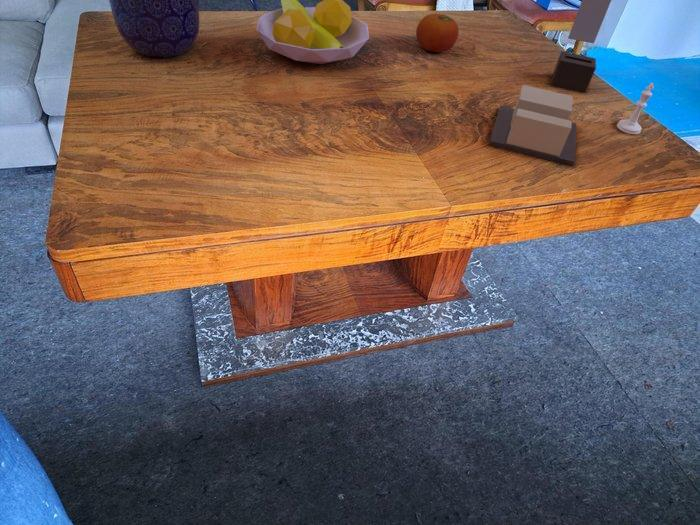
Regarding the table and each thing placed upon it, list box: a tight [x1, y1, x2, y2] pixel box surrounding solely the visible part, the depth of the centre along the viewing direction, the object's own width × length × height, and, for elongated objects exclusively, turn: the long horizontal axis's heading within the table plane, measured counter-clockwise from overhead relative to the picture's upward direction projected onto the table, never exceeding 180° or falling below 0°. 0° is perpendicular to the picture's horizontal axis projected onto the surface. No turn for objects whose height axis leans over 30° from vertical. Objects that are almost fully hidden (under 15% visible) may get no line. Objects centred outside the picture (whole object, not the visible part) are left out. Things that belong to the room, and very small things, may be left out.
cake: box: [510, 84, 574, 127], centre depth 102 cm, size 10×7×6 cm
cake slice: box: [507, 108, 573, 156], centre depth 96 cm, size 10×3×6 cm, turn 71°
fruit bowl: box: [255, 0, 370, 65], centre depth 120 cm, size 28×27×11 cm
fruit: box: [415, 12, 459, 53], centre depth 128 cm, size 11×10×8 cm
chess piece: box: [616, 82, 655, 135], centre depth 105 cm, size 5×5×10 cm
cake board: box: [488, 105, 577, 167], centre depth 102 cm, size 16×16×1 cm
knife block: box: [550, 50, 597, 94], centre depth 120 cm, size 8×6×6 cm
